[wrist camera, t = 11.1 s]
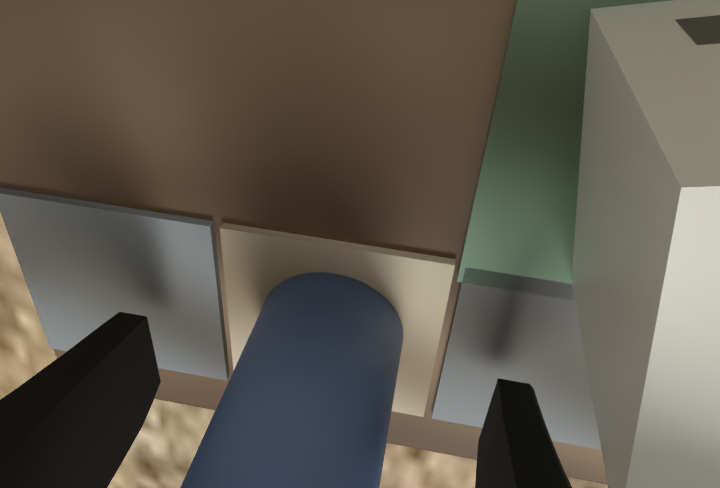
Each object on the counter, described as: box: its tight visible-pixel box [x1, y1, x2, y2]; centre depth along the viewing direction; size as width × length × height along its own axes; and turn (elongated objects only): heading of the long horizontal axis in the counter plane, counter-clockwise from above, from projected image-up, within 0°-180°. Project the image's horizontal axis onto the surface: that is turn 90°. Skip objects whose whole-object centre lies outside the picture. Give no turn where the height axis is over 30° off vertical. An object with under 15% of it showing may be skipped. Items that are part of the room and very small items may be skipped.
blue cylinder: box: [181, 272, 403, 488], centre depth 10 cm, size 3×3×7 cm
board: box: [0, 0, 670, 485], centre depth 12 cm, size 12×20×1 cm, turn 86°
